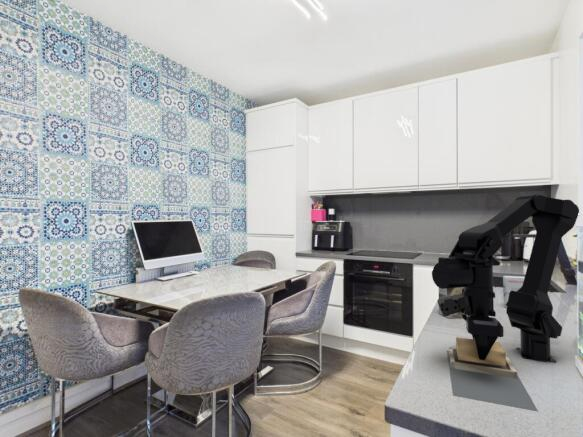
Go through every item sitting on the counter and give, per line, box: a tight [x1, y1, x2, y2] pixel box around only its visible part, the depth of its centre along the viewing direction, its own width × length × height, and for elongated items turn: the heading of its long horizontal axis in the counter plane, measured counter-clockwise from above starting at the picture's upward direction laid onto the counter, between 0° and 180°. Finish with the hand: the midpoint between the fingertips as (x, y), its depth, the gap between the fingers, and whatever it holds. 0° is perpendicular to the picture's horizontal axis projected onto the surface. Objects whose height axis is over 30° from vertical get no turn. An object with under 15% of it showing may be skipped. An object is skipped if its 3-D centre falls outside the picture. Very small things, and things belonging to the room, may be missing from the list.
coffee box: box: [438, 287, 466, 319], centre depth 109 cm, size 9×6×16 cm
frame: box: [448, 347, 518, 378], centre depth 71 cm, size 9×12×1 cm
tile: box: [455, 336, 507, 367], centre depth 71 cm, size 9×6×3 cm, turn 66°
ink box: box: [502, 275, 525, 310], centre depth 117 cm, size 9×5×12 cm, turn 67°
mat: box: [446, 350, 539, 412], centre depth 66 cm, size 22×13×1 cm, turn 156°
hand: (479, 354), depth 71 cm, fingers closed on tile, 6 cm apart
